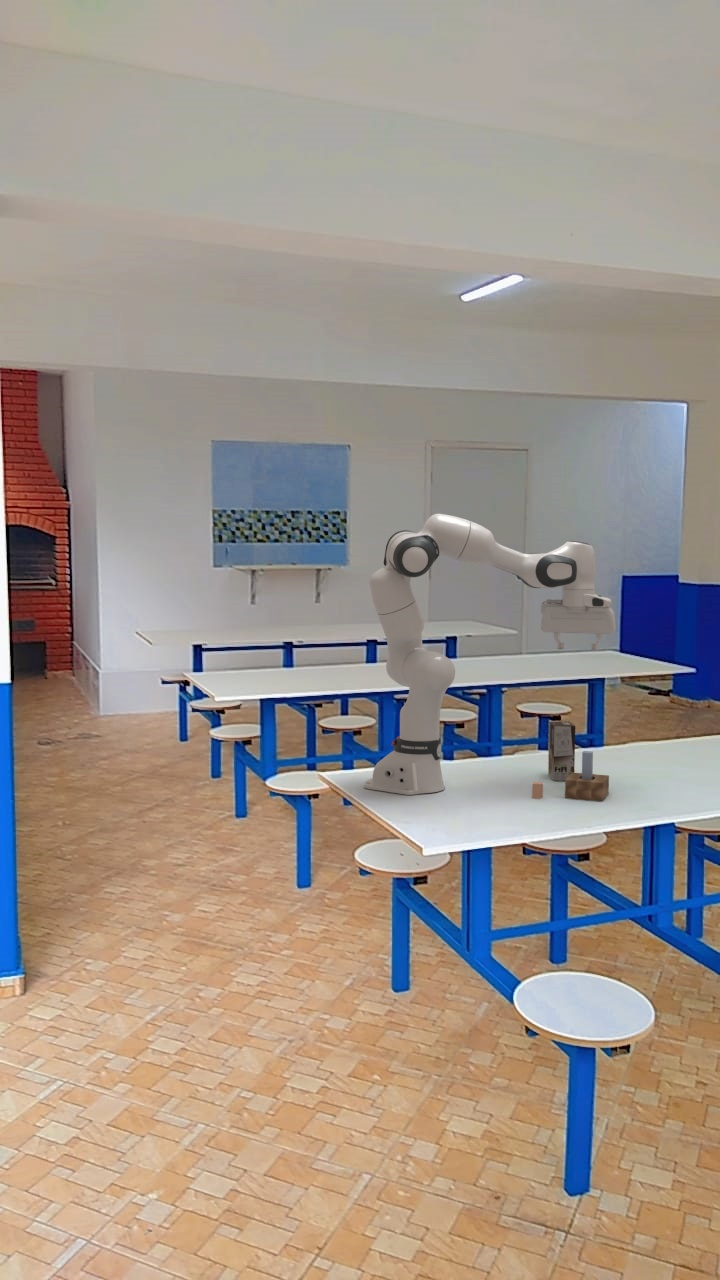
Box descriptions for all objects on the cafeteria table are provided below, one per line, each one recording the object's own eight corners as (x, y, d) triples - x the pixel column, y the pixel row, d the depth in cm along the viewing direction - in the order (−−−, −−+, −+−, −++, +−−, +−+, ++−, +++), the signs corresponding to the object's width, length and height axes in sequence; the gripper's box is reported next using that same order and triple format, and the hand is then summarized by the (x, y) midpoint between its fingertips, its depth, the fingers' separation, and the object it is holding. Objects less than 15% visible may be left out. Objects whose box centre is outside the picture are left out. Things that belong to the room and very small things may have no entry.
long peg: (581, 796, 273) (582, 752, 272) (583, 794, 275) (584, 750, 274) (590, 797, 272) (591, 753, 271) (592, 795, 274) (592, 751, 273)
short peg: (532, 798, 271) (532, 783, 270) (534, 796, 273) (534, 781, 272) (540, 798, 270) (541, 784, 269) (542, 797, 272) (543, 782, 272)
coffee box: (575, 781, 291) (576, 726, 290) (552, 781, 291) (553, 725, 290) (569, 774, 300) (570, 720, 299) (547, 774, 300) (548, 720, 299)
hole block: (564, 798, 270) (565, 779, 270) (571, 790, 280) (572, 772, 279) (602, 801, 267) (603, 783, 266) (608, 793, 276) (608, 775, 275)
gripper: (538, 599, 280) (538, 649, 281) (613, 600, 272) (612, 651, 273) (543, 598, 286) (542, 647, 287) (617, 600, 278) (616, 649, 279)
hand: (577, 649), depth 280 cm, fingers open, 8 cm apart
